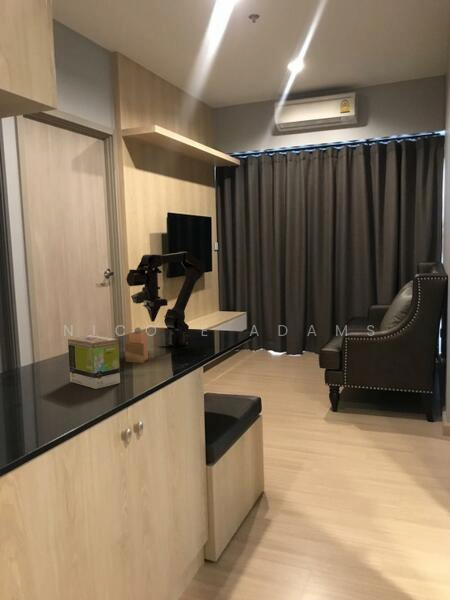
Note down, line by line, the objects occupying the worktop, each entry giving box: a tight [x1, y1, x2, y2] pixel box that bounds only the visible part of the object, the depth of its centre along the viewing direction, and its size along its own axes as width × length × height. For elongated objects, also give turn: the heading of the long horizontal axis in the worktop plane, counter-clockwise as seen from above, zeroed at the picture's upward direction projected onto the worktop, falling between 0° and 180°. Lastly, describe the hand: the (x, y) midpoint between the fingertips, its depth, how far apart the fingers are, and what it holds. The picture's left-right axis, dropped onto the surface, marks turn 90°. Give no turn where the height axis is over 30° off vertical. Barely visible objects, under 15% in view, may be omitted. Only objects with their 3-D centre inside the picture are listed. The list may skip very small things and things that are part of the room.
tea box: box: [67, 334, 121, 390], centre depth 168 cm, size 15×10×15 cm
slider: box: [128, 327, 149, 361], centre depth 193 cm, size 4×5×12 cm
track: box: [124, 342, 146, 364], centre depth 198 cm, size 17×7×8 cm, turn 161°
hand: (152, 321), depth 218 cm, fingers closed
